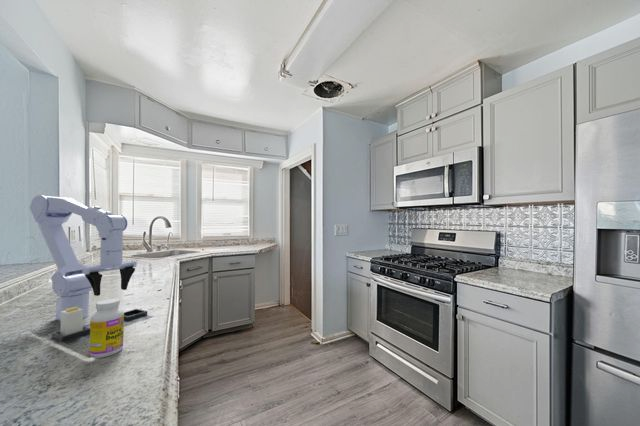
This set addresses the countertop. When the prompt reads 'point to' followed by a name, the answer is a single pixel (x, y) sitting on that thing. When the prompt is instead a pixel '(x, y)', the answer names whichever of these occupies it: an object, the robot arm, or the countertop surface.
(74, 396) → the countertop surface
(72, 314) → the white rectangular block
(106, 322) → the supplement bottle
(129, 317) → the panel
